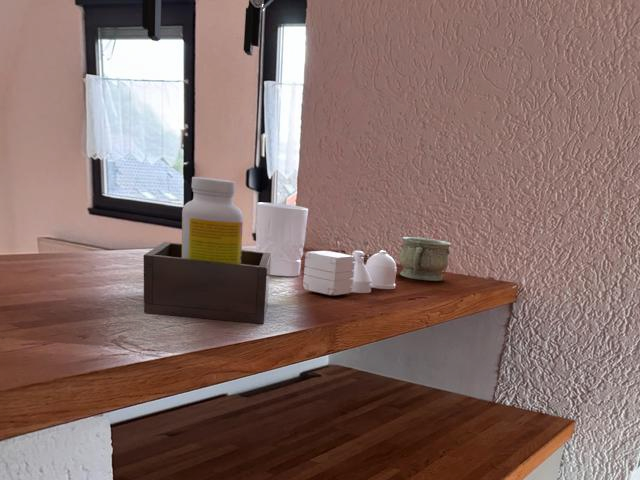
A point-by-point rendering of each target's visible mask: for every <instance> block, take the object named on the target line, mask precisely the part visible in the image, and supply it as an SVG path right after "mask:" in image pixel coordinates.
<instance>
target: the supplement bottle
mask: <svg viewBox="0 0 640 480" xmlns="http://www.w3.org/2000/svg"><path fill="white" fill-rule="evenodd" d="M236 185H237V184H236V181H232V180H228V179H220V178H210V177H203V176H192V177H191V191H192V192H193V197H192V200H189V201H188V202H186V203H185V204H184V205H183V207H182V209H181V244H182V258H188V259H198V260H207V261H217V262H227V263H236V264H241V252H242V250H243V249H242V248H243V247H242V246H243V225H244V216H243V212H242V210H241V209H240V208H239V207H238V206H236V205H235V204H234V196H235V193H236Z"/></svg>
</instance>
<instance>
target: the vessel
mask: <svg viewBox="0 0 640 480" xmlns="http://www.w3.org/2000/svg"><path fill="white" fill-rule="evenodd" d="M401 239H402V241H403V242H402V244H401V251H400V254H399V256H398V261H399V264H400V265H401V266H402V267H403V268H402V270H400V275H401V276H402V277H404V278H409V279H413V280H420V281H432V282H439V281H443V276H442V272H444V271H446V270H447V268H448V267H449V254H450V247H451V246H452V243H451V242H448V241H444V240H438V239H432V238H425V237H415V236H403V237H401Z"/></svg>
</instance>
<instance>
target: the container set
mask: <svg viewBox="0 0 640 480" xmlns="http://www.w3.org/2000/svg"><path fill="white" fill-rule="evenodd" d="M378 251H379V252H378V253H375V254H372V255H371V256H369V258H367V260H366V262H364V261H365V253H364V251H362V250H353V252H351V255H350V254H347V253H341V252H336V251H330V250H313V251H312V250H311V251H307V252H306V254H305V255H304V256H305V258H304V270H303V274H304V275H303V279H302V280H303V281H302V286H303V288H304V290H305V291H311V292H314V293H319V294H323V295H327V296H340V295H345V294H350V293H355V294H356V293H357V294H370V293H372V289H380V290H381V289H382V290H394V289H396V285H397V284H396V275H397V270H398V269H397V264H396V261H395V260H394V259H393V257H392V256H390V254H388V253H387V251H386V250H378Z"/></svg>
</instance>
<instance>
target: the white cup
mask: <svg viewBox="0 0 640 480" xmlns="http://www.w3.org/2000/svg"><path fill="white" fill-rule="evenodd" d="M255 204H256V205H255V206H256V208H255V209H256V210H255V211H256V212H255V217H256V218H255V226H256V227H255V243H256V244H255V249H256V251H255V252H265V253H271V264H270V276H275V277H298V276H299V275H301V269H302V268H301V267H302V258H303V255H304V247H305V242H306V233H307V225H308V217H309V208H308V207H304V206H299V205H293V204H285V203H276V202H264V201H263V202H256V203H255Z"/></svg>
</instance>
